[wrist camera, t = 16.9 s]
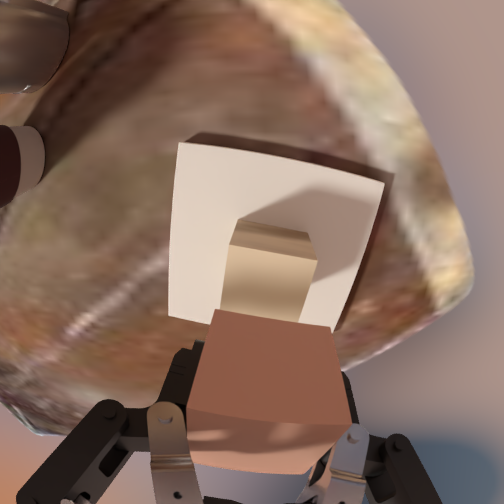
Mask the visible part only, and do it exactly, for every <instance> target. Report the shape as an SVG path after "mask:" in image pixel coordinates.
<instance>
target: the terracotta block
mask: <svg viewBox="0 0 504 504" xmlns="http://www.w3.org/2000/svg"><path fill="white" fill-rule="evenodd" d="M186 417H187V440H188V445H189V450H190V455H191V459H192V461H193V463H197V464H202V465H207V466H212V467H219V468H225V469H232V470H239V471H249V472H259V473H273V474H304V473H305V472H306V471H307V470H308V469H309V468H310V467H311V466H312V465H314V464H315V463H316V462H317V461H318V460H319V459H320V458H321V457H322V456H323V455H324V454H325V453H326V452H327V451H328V450H329V449H330V448H331V447H332V446H333V445H334V444H335V443H336V442H337V441H338V440H339V438H340V437H341V436H342V435H343V434H344V433H345V432H346V431H347V430H348V429H349V427H350V426H351V425H352V420H351V415H350V410H349V405H348V400H347V396H346V391H345V386H344V382H343V378H342V373H341V369H340V365H339V360H338V356H337V352H336V348H335V344H334V340H333V336H332V332H331V328H330V327H328V326H320V325H312V324H305V323H298V322H291V321H284V320H277V319H271V318H265V317H259V316H253V315H247V314H241V313H236V312H230V311H225V310H220V309H215V310H214V314H213V317H212V320H211V324H210V327H209V330H208V334H207V337H206V341H205V344H204V347H203V351H202V354H201V358H200V361H199V365H198V368H197V371H196V375H195V378H194V382H193V385H192V389H191V393H190V396H189V400H188V403H187V407H186Z"/></svg>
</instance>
